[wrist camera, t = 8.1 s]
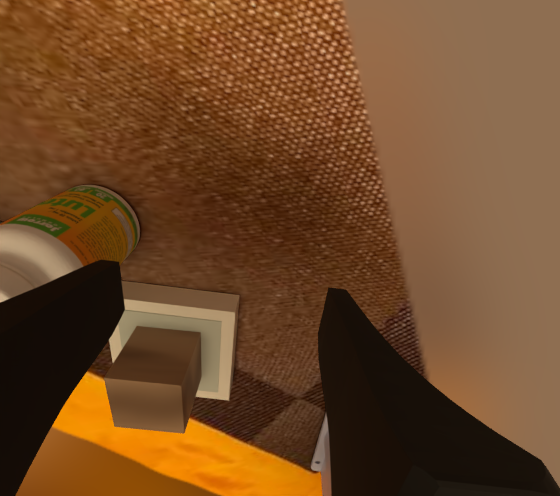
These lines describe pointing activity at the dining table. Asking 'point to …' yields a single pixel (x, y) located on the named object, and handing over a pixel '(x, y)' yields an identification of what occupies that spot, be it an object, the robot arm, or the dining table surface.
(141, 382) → the walnut block
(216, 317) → the tile base
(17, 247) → the supplement bottle
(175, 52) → the dining table surface
